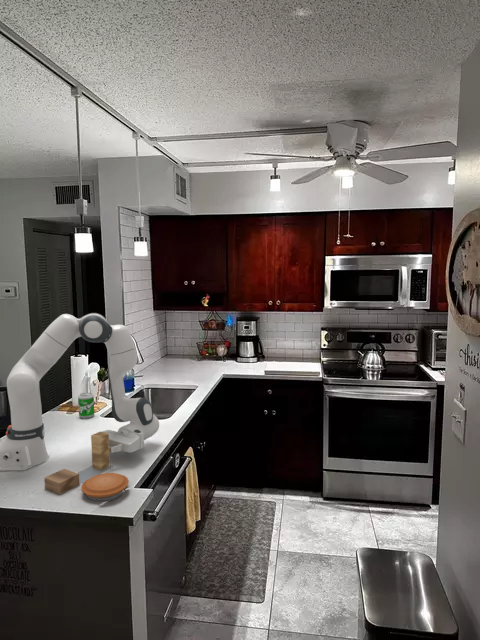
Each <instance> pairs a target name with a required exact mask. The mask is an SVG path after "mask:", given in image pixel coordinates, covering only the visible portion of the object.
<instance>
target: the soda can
mask: <svg viewBox="0 0 480 640" xmlns="http://www.w3.org/2000/svg"><path fill="white" fill-rule="evenodd" d="M94 398H95V395H94V394H93V393H92V392H82V393H80V394H79V395H78V396H77V399H78V401H77V402H78V404H77V405H78V416H79V418H80V419H83V420H86V419H91V418H93V417H94V415H95V399H94Z"/></svg>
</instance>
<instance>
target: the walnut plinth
mask: <svg viewBox="0 0 480 640" xmlns="http://www.w3.org/2000/svg"><path fill="white" fill-rule="evenodd" d="M43 481H44V489H45V490H47V491H50V492H53V493H55V494H58V495H62V493H63V494H64V493H66V492H68V491H70V490H72V489H75V488H76V487H78V486H80V485H81V484H79V474H78V472H75V471H72V470H69V469H67V468H62V469H59V470H58V471H56V472H54V473H52V474H48V475H47V476H45V477H44V480H43Z"/></svg>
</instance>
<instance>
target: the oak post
mask: <svg viewBox="0 0 480 640" xmlns="http://www.w3.org/2000/svg"><path fill="white" fill-rule="evenodd" d="M90 442H91V443H90V444H91V462H92V463H91V466H92V467H93V468H94V469H97V470H100V471H101V470H103V469H105V468H107V467H109V466H110V465H111V461H110V452H109V448H110V447H109V434H108V433H104V432H102V431H99V432H98V431H97V432H96V433H93V434H91V435H90Z"/></svg>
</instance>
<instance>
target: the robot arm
mask: <svg viewBox="0 0 480 640" xmlns="http://www.w3.org/2000/svg"><path fill="white" fill-rule="evenodd" d="M81 337H82V339H84V340H85V341H87V342H89V343H103V344H105V347H106V349H107V354H108V356H109V357H108V358H109V367H108V370H107V375H108V376H107V377H108V383H109V391H110V397H111V414H112V416H113V418H114V420H115V421H116V422H118V423H127V422H129V423H128V424H125V425H123V426H120V427H119V428H118V430H111V429H106V430H102V431H101V432H104V433H108V434H109V453H115V452H121V451H122V452H124V453H129V454H130V453H134V452H136V451H138V450H141V449H143V448H145V440H148V439H149V438H151V437H153V436H154V435H155V434H156V433H157V432H158V431H159V430H160V429H159V428H160V422H159V421H160V420H159V419H158V417H157V416H155V414H154V410H153V406H152V403H151V401H150V400H149V399H148V398H146V397H136V398H132V397H131V398H130V397H129V398H128V397H127V395H126V391H125V383H124V377H125V375H126V374H127V373H129V372H130V371H131V370H133V369H134V367H135V366H136V365H137V362H138V352H137V350H136V349H137V348H136V346H135V345H136V344H135V342H134V339H133V337H132V335H131V332H130V331H129V329H128V327H127V326H126V325H124V324H113V325H112V324H109V323H108V321H107V319H106V318H105V316H104V315H102V314H100V313H97V312H91V313H87V314H85V315H83V316H80V317H78V318H77V317H75V316H74V315H72V314H69V313H63V314H61V315H59V316H58V317H57V318H55V319H54V320H53V321H52V322H51V323H50V324H49V325H48V326H47V327H46V329H45V330H43V332H42V333H41V334H40V335H39V337H38V338H37V339H36V340H35V342H33V344H32V345H31V346H30V348H29V349H28V350H27V351H26V352H25V353H24V354H23V355H22V357H21V358H19V360H18V361H17V362H16V363H15V365H14V366H13V367H12V368H11V370H10V371H9V375H8V376H7V378H6V389H7V396H8V402H9V410H10V423H11V424H10V425H8V427H7V429H6V430H5V431H6V432H5V436H6V437H5V438H4V439H3V440H2V441H0V472H1V471H2V472H3V471H5V472H6V471H27V470H28V469H30V468H32V467H34V466H37V465H40V464H43V463H44V462H46V461H47V460H48V459H49V457H50V455H49V453H48V451H47V447H46V443H45V442H46V441H45V436H46V435H45V426H44V424H45V423H43V412H42V411H43V410H42V408H43V407H42V401H41V391H40V381H41V379H42V378H43V377H44V376H45V375H46V374H47V373H48V371H50V369H51V368H52V367H53V366H54V365H55V364H56V363H57V362H58V361H59V359H61V357H62V356H63V355H64V353H65V352H66V351H67V350H68V348H69V347H70V346H71V344H73V343H74V341H75V340H76V339H78V338H81Z"/></svg>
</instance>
